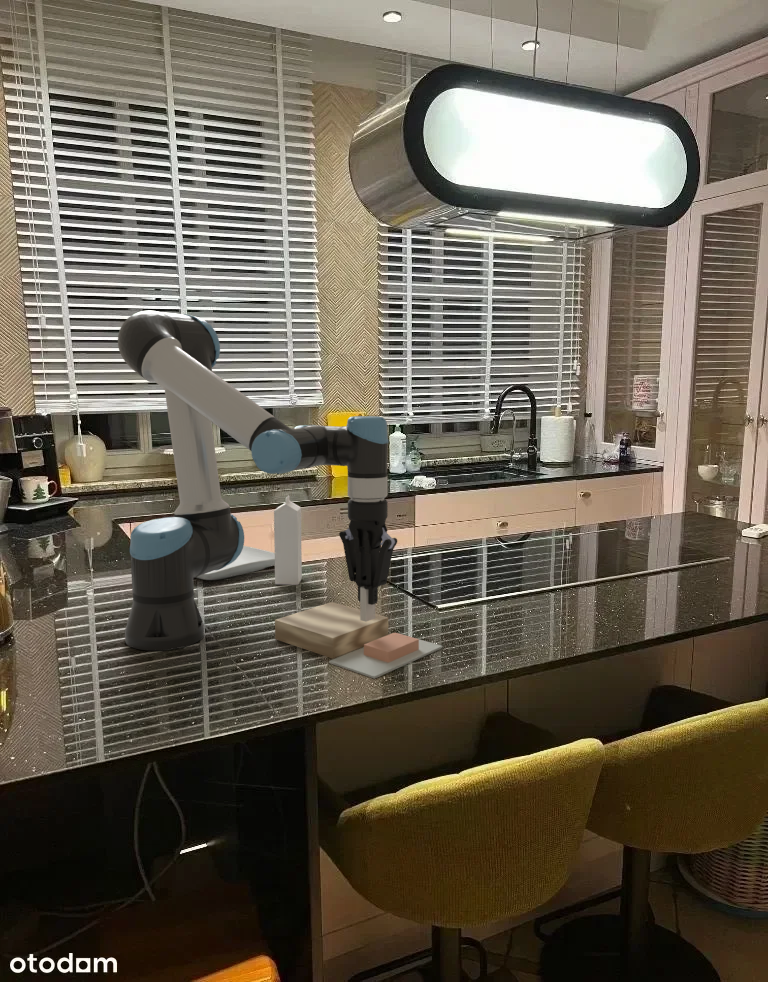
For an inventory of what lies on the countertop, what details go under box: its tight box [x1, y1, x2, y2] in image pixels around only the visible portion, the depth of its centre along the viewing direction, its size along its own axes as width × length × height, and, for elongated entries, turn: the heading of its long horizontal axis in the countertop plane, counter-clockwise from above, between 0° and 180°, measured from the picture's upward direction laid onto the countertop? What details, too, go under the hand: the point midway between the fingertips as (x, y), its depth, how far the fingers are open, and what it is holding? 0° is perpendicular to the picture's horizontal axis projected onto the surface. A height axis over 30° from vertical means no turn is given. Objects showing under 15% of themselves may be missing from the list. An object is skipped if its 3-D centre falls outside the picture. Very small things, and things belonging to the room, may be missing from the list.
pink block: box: [364, 632, 420, 663], centre depth 142 cm, size 9×6×2 cm, turn 140°
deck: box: [274, 601, 389, 660], centre depth 150 cm, size 16×16×4 cm
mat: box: [328, 632, 443, 680], centre depth 141 cm, size 20×11×1 cm, turn 140°
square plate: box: [195, 545, 275, 581], centre depth 206 cm, size 27×27×4 cm
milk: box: [273, 494, 303, 586], centre depth 191 cm, size 6×6×22 cm
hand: (367, 619), depth 145 cm, fingers closed
